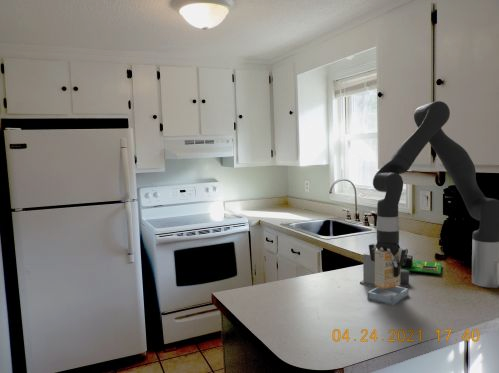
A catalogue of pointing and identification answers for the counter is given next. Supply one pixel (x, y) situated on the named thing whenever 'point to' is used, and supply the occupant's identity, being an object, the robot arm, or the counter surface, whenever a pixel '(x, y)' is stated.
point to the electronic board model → (421, 266)
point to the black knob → (404, 277)
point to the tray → (388, 295)
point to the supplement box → (385, 270)
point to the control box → (368, 270)
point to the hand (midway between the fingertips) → (387, 274)
